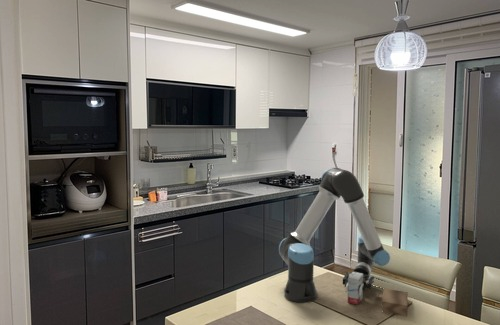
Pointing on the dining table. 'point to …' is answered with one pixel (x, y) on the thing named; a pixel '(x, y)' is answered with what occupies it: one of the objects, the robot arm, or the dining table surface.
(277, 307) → the dining table surface
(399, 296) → the walnut block
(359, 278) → the ink box
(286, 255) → the robot arm
